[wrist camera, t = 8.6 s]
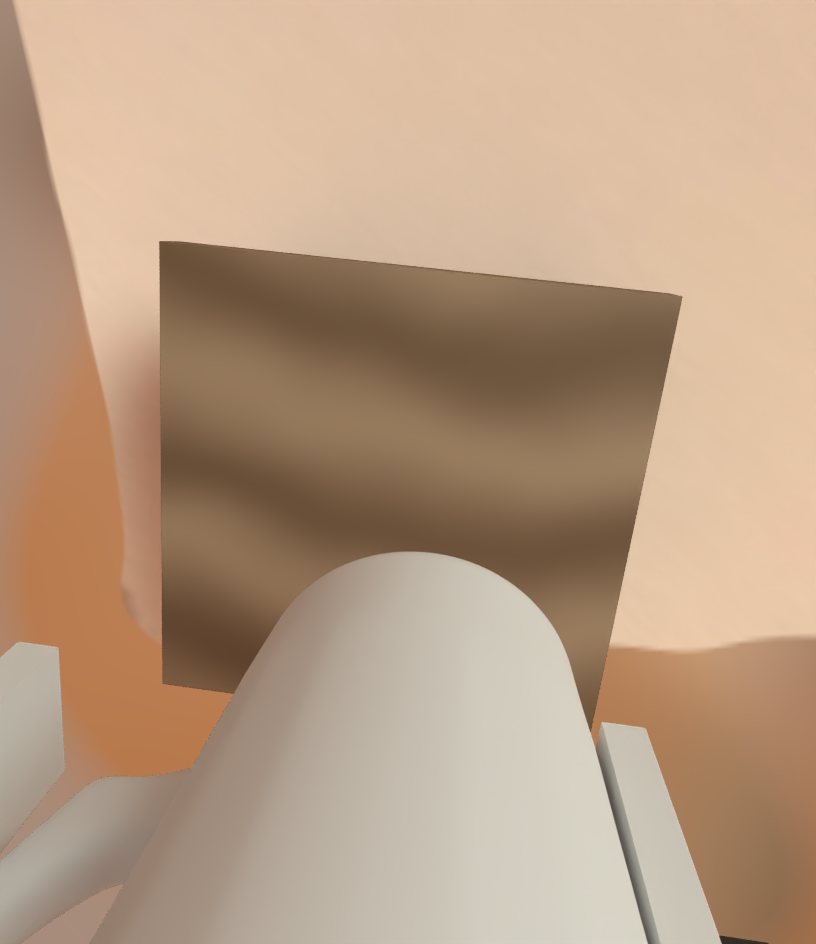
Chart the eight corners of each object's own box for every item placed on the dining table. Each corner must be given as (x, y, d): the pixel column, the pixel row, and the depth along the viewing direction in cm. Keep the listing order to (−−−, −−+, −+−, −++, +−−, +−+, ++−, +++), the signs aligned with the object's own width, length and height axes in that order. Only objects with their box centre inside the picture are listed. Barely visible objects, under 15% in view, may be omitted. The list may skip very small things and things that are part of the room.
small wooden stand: (256, 241, 32) (159, 241, 22) (616, 279, 31) (682, 296, 22) (246, 566, 37) (162, 683, 27) (557, 606, 36) (588, 743, 26)
